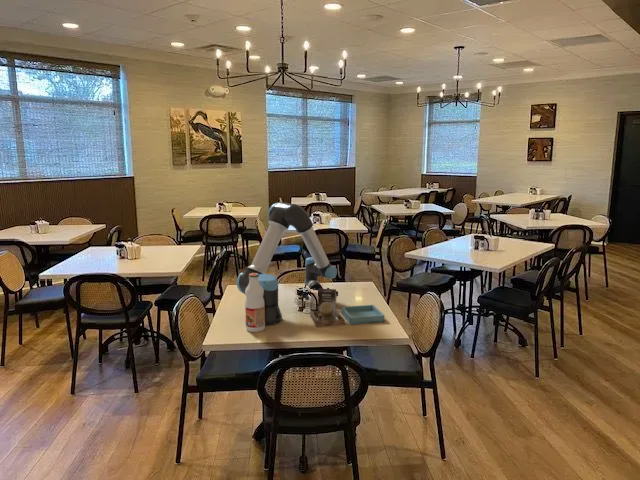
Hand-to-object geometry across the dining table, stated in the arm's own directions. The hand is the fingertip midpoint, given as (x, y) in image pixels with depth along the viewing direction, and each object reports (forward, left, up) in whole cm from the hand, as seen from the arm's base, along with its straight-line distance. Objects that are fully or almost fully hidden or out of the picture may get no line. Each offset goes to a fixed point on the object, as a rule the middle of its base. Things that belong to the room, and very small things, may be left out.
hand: (323, 299), depth 265 cm
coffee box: (0, -9, -9) cm, 13 cm away
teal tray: (+19, -9, -8) cm, 23 cm away
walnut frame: (0, -9, -8) cm, 13 cm away
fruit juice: (-37, -13, -9) cm, 40 cm away
